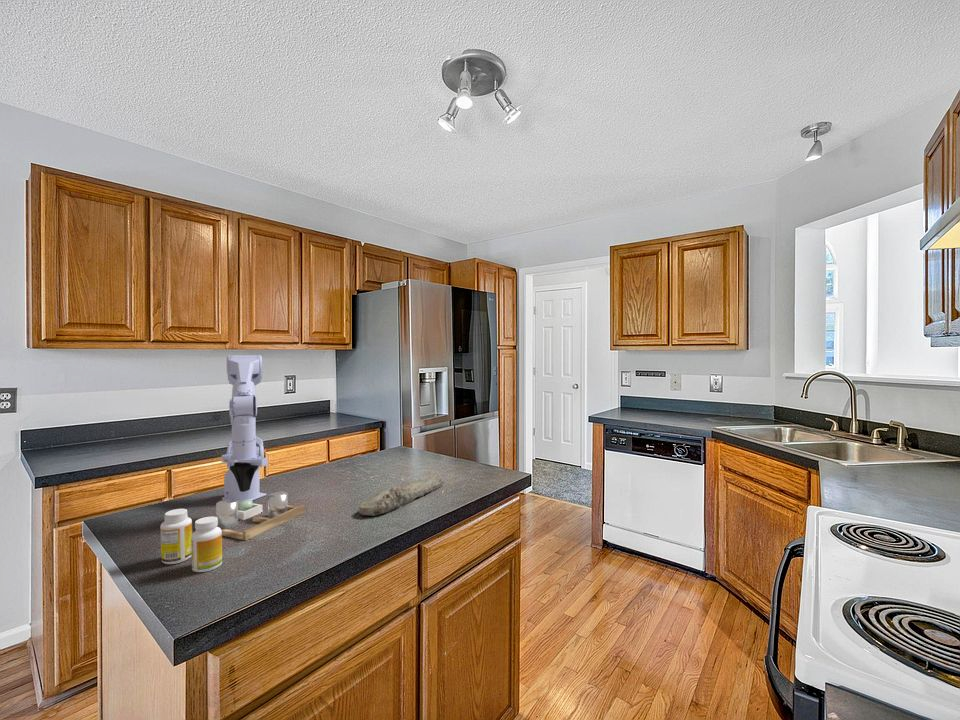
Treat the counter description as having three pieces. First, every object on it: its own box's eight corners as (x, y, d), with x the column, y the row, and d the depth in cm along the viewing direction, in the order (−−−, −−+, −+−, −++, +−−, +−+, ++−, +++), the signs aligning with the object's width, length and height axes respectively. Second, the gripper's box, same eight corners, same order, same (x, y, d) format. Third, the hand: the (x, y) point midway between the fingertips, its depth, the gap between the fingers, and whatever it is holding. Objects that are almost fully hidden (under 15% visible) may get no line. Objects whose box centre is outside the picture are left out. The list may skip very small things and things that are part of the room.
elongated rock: (451, 490, 145) (427, 487, 150) (451, 473, 145) (426, 471, 150) (377, 520, 114) (349, 515, 119) (377, 499, 115) (349, 495, 119)
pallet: (221, 535, 106) (221, 527, 106) (282, 508, 124) (282, 501, 124) (246, 540, 103) (245, 532, 103) (304, 512, 121) (304, 505, 121)
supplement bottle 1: (187, 550, 98) (186, 505, 98) (196, 558, 94) (195, 511, 94) (157, 560, 94) (156, 512, 93) (165, 568, 90) (164, 518, 90)
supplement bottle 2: (228, 562, 92) (227, 516, 92) (205, 575, 87) (204, 526, 87) (209, 558, 94) (208, 513, 94) (185, 570, 89) (184, 523, 89)
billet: (212, 527, 111) (211, 504, 111) (229, 520, 115) (228, 497, 115) (226, 530, 109) (225, 506, 109) (242, 523, 113) (242, 500, 113)
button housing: (227, 517, 118) (227, 509, 118) (246, 509, 123) (246, 502, 123) (243, 520, 115) (243, 512, 115) (262, 512, 121) (262, 504, 121)
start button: (234, 510, 118) (234, 503, 118) (245, 506, 122) (245, 498, 122) (244, 512, 117) (244, 504, 117) (255, 507, 120) (255, 500, 120)
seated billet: (263, 518, 116) (263, 496, 116) (278, 512, 121) (277, 490, 121) (277, 521, 115) (277, 498, 115) (291, 514, 119) (291, 492, 119)
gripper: (210, 441, 118) (211, 492, 118) (251, 445, 112) (252, 498, 113) (234, 436, 124) (234, 484, 125) (273, 440, 119) (274, 490, 119)
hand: (244, 490), depth 119 cm, fingers closed
